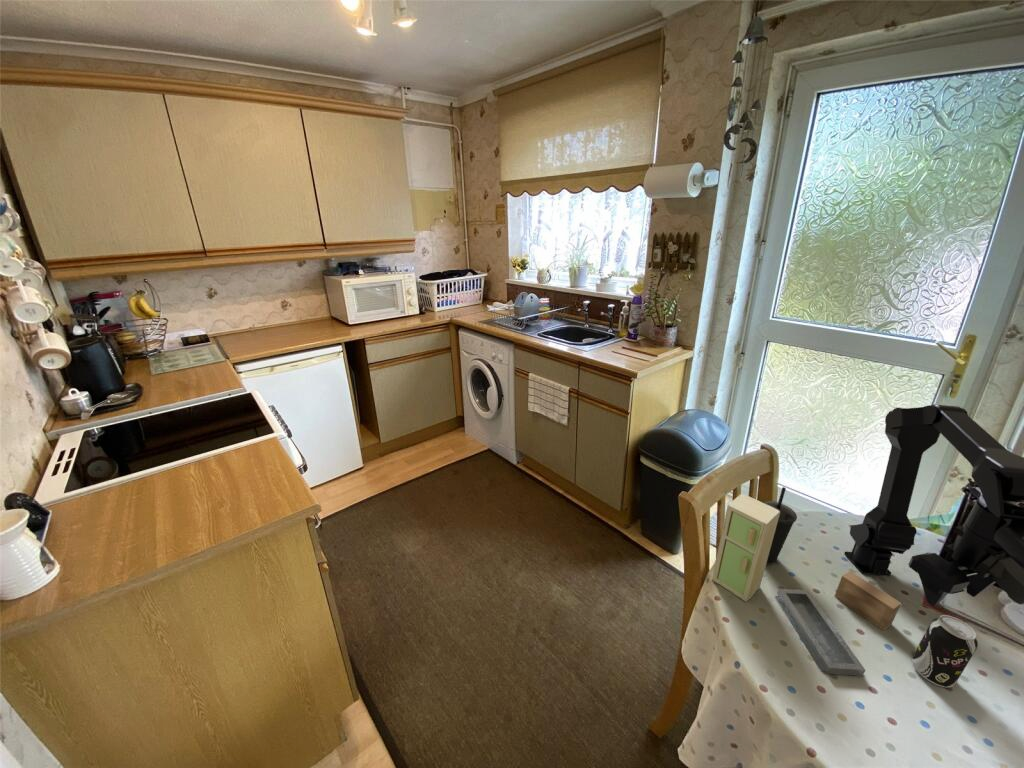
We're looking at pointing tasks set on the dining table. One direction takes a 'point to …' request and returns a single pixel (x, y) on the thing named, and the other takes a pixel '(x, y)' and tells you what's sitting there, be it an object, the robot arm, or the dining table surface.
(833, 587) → the dining table surface
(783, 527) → the drinking cup
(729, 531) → the toy refrigerator
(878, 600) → the wooden block
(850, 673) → the frame
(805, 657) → the dining table surface
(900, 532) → the robot arm
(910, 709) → the dining table surface
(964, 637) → the beverage can
